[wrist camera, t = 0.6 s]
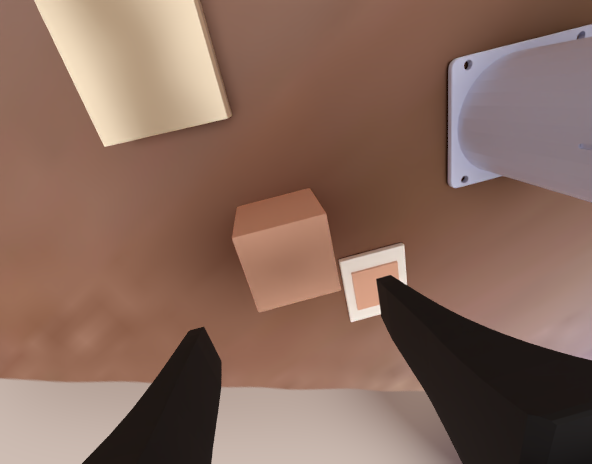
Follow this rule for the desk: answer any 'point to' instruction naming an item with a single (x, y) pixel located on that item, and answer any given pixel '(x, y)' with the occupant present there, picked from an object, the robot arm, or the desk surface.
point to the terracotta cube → (285, 249)
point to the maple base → (139, 64)
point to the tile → (370, 278)
